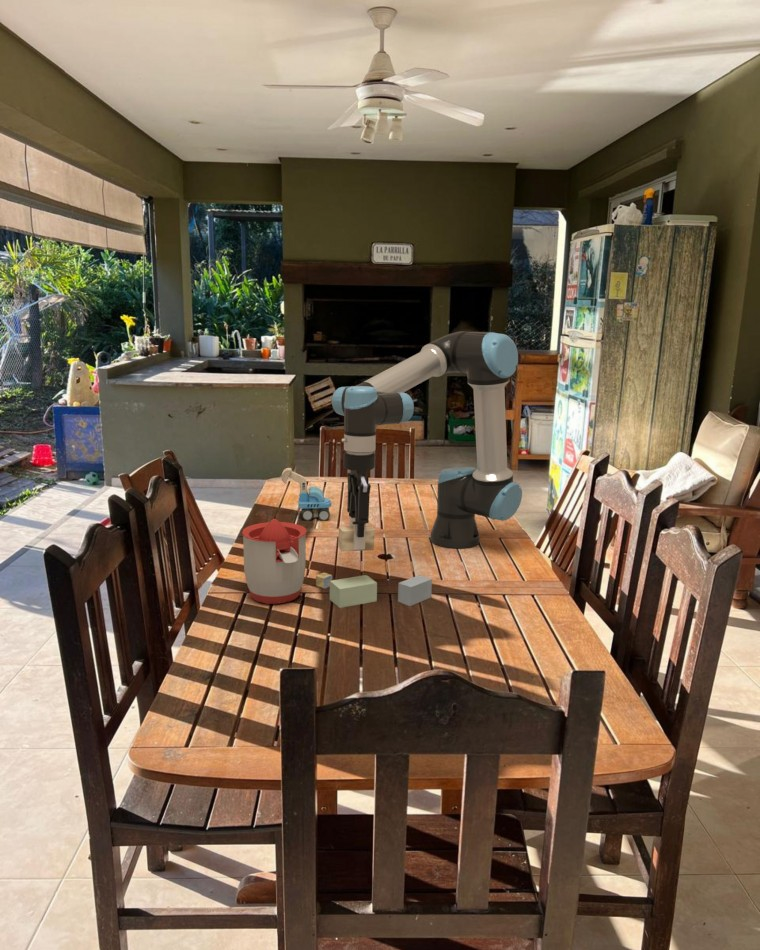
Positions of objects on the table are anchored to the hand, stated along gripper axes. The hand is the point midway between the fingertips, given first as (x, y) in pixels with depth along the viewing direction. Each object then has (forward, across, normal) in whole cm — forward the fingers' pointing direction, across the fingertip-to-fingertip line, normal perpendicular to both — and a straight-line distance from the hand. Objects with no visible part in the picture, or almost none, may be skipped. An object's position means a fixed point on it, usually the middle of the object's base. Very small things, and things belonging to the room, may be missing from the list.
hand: (356, 546), depth 184 cm
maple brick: (+1, 0, 0) cm, 1 cm away
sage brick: (+14, +1, -1) cm, 14 cm away
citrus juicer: (+14, -5, -19) cm, 24 cm away
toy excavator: (+13, -73, +1) cm, 74 cm away
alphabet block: (+14, -10, -6) cm, 18 cm away
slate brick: (+14, +4, +14) cm, 20 cm away
